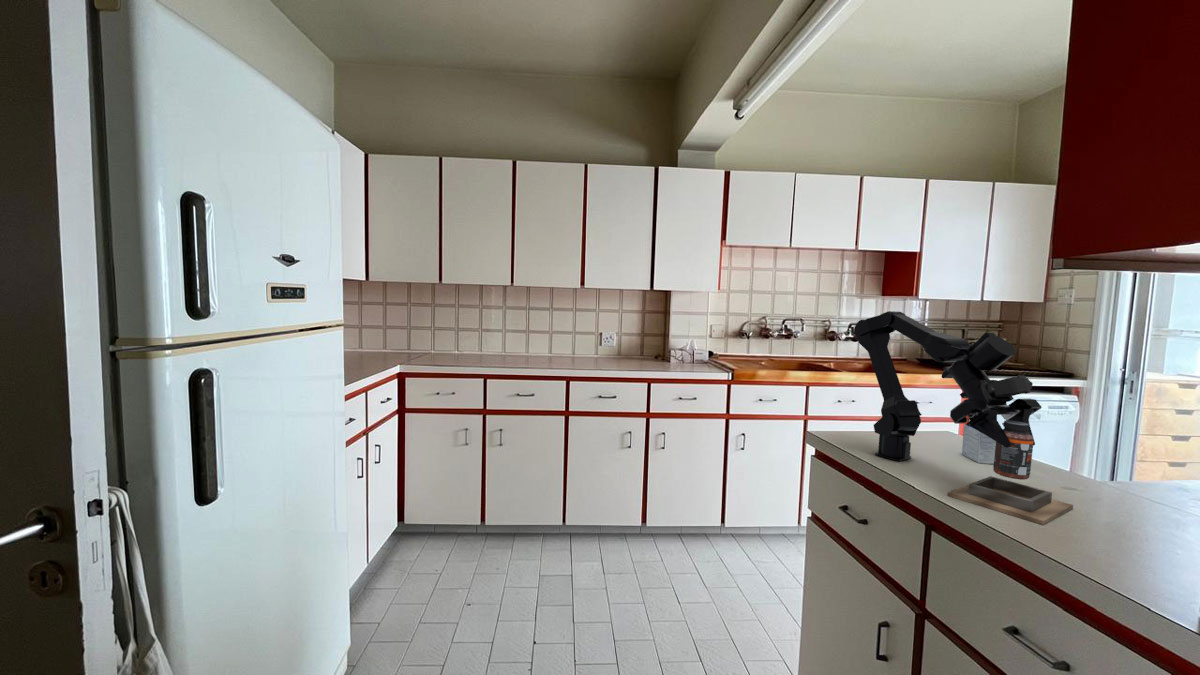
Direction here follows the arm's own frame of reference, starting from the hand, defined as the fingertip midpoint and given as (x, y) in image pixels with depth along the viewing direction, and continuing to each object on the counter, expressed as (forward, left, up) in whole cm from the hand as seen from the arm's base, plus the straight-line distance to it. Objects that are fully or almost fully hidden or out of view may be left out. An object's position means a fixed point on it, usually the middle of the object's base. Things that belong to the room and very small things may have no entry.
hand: (1021, 446), depth 103 cm
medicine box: (-18, +30, -12) cm, 37 cm away
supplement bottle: (-1, 0, -7) cm, 7 cm away
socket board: (-1, 0, -12) cm, 12 cm away
